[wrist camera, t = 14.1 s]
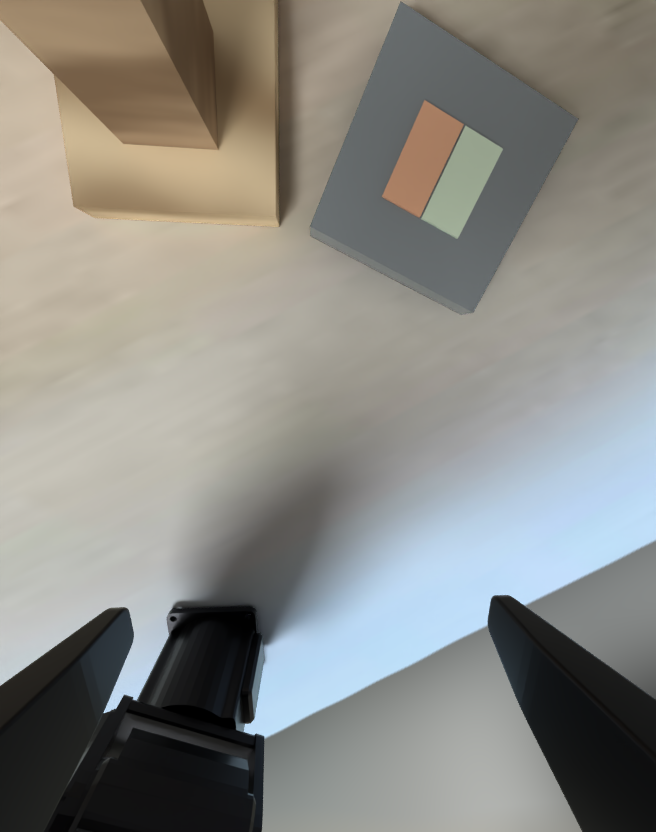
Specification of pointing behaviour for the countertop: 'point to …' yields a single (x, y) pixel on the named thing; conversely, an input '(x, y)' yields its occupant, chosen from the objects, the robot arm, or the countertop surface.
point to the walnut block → (129, 63)
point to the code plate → (438, 165)
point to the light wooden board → (187, 167)
